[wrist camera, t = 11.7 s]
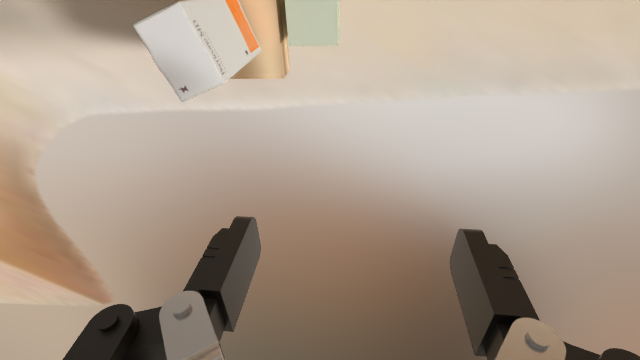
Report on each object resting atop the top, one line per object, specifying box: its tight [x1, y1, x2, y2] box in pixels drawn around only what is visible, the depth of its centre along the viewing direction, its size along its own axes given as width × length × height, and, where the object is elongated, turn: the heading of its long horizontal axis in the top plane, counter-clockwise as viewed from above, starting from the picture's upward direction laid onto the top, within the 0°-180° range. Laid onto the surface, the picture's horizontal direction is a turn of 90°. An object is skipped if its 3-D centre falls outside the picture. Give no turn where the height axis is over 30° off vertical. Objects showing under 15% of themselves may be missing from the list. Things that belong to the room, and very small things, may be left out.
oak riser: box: [178, 0, 290, 79], centre depth 34 cm, size 10×10×4 cm
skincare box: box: [133, 0, 262, 102], centre depth 28 cm, size 6×4×12 cm
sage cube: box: [285, 0, 340, 46], centre depth 33 cm, size 5×5×5 cm
